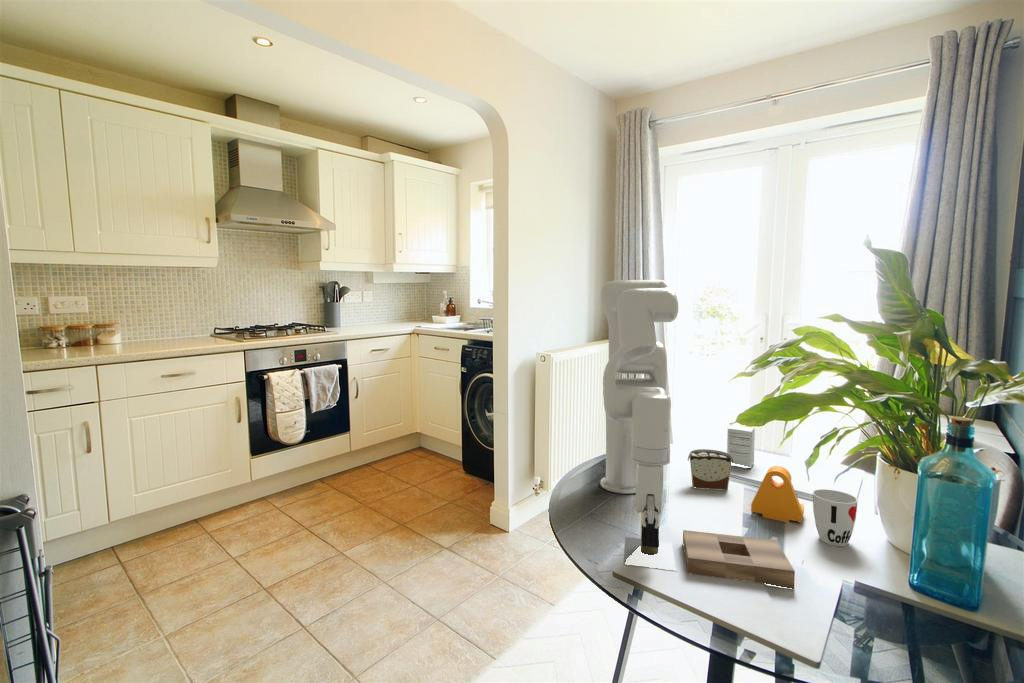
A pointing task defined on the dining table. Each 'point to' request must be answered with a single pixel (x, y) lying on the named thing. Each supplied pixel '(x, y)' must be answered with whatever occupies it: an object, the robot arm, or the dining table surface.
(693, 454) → the food container
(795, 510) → the bracket
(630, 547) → the mat
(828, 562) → the dining table surface
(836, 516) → the cup
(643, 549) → the peg
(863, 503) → the dining table surface
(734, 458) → the supplement box
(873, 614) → the dining table surface
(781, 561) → the mortise block
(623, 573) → the dining table surface
